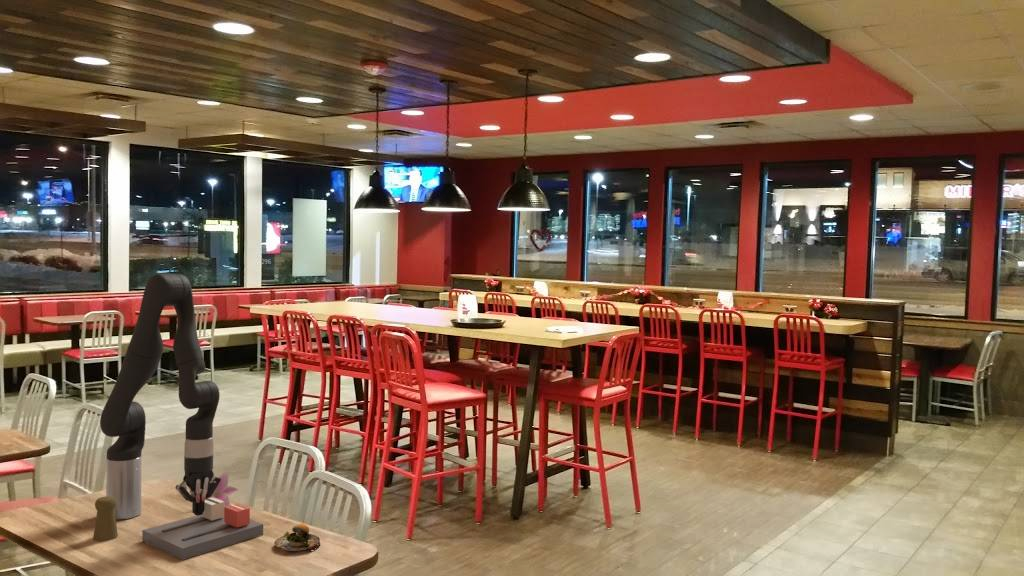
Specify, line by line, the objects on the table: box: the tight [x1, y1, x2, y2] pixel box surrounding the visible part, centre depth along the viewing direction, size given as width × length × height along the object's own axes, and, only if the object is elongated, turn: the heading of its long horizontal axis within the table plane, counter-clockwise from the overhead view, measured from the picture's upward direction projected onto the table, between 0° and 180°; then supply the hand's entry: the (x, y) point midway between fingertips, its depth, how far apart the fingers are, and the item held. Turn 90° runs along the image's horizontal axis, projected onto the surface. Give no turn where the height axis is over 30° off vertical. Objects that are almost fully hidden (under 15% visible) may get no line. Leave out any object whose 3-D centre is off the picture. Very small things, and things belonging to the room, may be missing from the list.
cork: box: [92, 496, 119, 542], centre depth 215 cm, size 6×6×11 cm
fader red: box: [224, 503, 251, 528], centre depth 219 cm, size 6×4×5 cm, turn 53°
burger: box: [273, 516, 321, 552], centre depth 212 cm, size 12×12×8 cm
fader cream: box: [200, 497, 225, 521], centre depth 224 cm, size 6×4×5 cm, turn 53°
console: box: [141, 515, 264, 561], centre depth 217 cm, size 20×24×3 cm
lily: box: [210, 470, 239, 507], centre depth 244 cm, size 12×12×10 cm
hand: (198, 514), depth 221 cm, fingers closed
